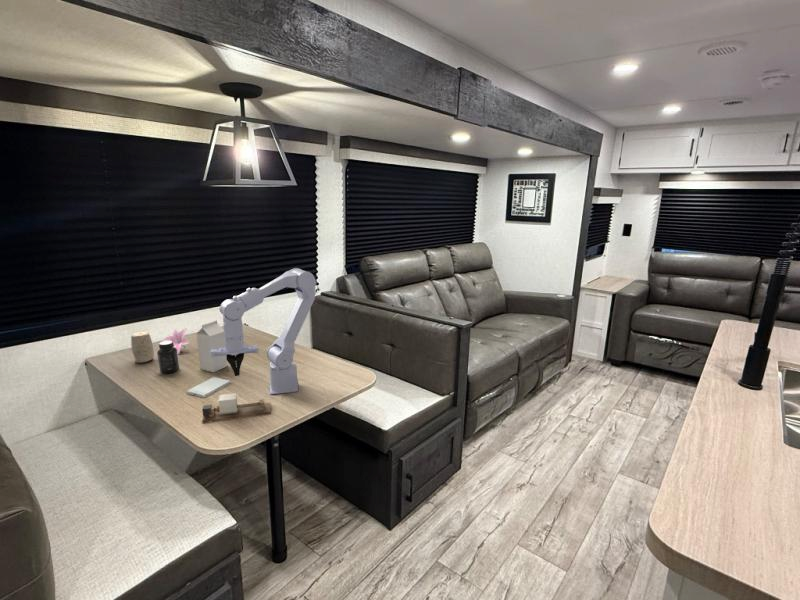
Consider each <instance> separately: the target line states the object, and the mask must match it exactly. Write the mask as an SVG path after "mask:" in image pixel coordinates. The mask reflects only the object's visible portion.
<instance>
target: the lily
mask: <svg viewBox="0 0 800 600" xmlns="http://www.w3.org/2000/svg"><path fill="white" fill-rule="evenodd" d="M187 330H188V327H186V328H184V329H183V328H182V330H179V332H178V330H177V328H174V329H173V332H172V335H169V336H166V337H163V338H162V341H168V340H170V341H173V344H174V347H175V348H176V349H177V352H178V354H179V355H180V351H181V347H182V346H183V347H184V348H186V346H185V345H187V344H189V343H190V341H189V340H187V339H186V338H185V335H186V332H187Z"/></svg>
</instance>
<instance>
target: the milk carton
mask: <svg viewBox="0 0 800 600" xmlns="http://www.w3.org/2000/svg"><path fill="white" fill-rule="evenodd" d="M196 340H197V349H198V360H199V369H200V370H203V371H207V372H211V373H216V372H217V371H220V370H221V369H224V368H227V366H228V361H227V359H226V358H227V355H225V356H215V357H211V350H215V349H220V348H225V337H224V328H222V327H221V325H220V324H219V323H218V320H217V319H216V320H213V321H209V322H208V323H204V324H201V328H200V329H199V330H198V331H197V332H196Z"/></svg>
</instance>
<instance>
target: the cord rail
mask: <svg viewBox="0 0 800 600" xmlns="http://www.w3.org/2000/svg"><path fill="white" fill-rule="evenodd" d="M237 408H238V410H237V413H230V414H223V415H220V410H219V405H216V407H215V405H213V404H205V405H203V406H202V418H201V419H202V420H201V423H202V422H204V423H211V422H210V421H212V422H218V421H225V420H231V419H233V420H234V419H239V418H241V419H242V418H249V417H256V416H262V415H269V414H270V415H271V413H272V412H271V408H272V407H271V402H265V399H259V402H251V403H250V402H249V403H243V404H237Z"/></svg>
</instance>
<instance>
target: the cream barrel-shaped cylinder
mask: <svg viewBox="0 0 800 600" xmlns="http://www.w3.org/2000/svg"><path fill="white" fill-rule="evenodd" d="M152 340H153V339H152V338H151V335H150V333H149V332H146V331H138V332H134V333H133V334H131V336H130V345H131V351H132V355H133V357H134V359H135V362H137V363H138V362H139V363H140V364H141V363H147V362H149V361H151V360H153V358H154V357H155V351H154V350H155V349H154V346H153V341H152Z"/></svg>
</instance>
